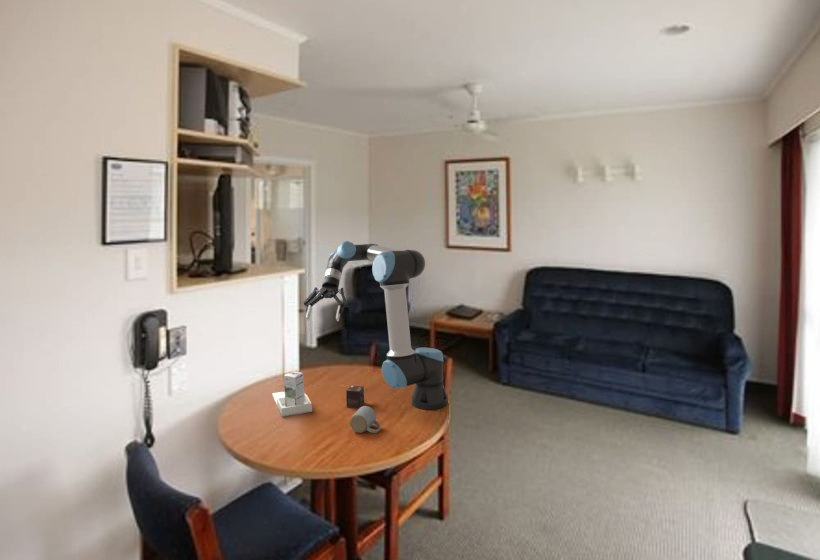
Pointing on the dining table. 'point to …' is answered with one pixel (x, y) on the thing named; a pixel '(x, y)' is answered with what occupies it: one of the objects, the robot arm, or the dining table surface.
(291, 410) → the mailer
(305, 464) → the dining table surface
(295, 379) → the syrup box
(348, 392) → the box
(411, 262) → the robot arm
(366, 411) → the ceramic mug
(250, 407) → the dining table surface
